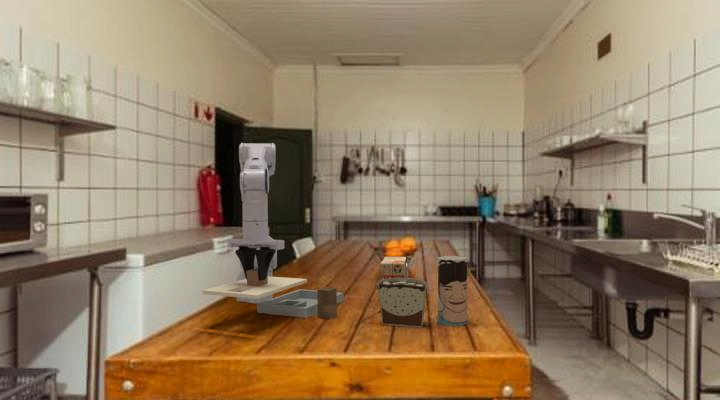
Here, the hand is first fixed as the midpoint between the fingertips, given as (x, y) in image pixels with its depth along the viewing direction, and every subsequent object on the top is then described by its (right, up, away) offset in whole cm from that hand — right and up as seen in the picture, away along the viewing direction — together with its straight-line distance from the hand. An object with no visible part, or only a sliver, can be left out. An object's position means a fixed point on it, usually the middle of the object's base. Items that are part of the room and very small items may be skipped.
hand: (256, 279), depth 122 cm
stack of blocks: (+34, -10, +24) cm, 43 cm away
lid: (0, -2, 0) cm, 2 cm away
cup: (+46, -10, +1) cm, 47 cm away
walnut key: (+16, -10, +4) cm, 20 cm away
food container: (+35, -10, +1) cm, 36 cm away
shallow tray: (+9, -10, +15) cm, 20 cm away
